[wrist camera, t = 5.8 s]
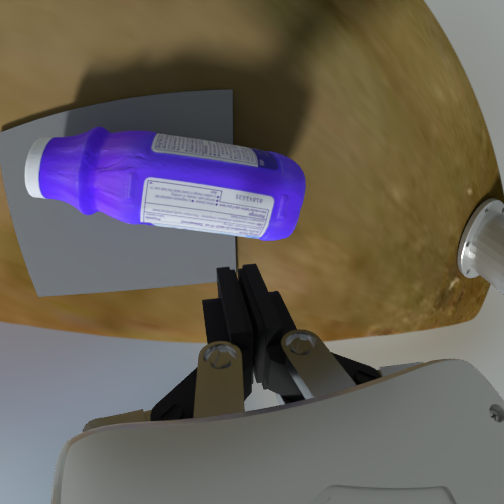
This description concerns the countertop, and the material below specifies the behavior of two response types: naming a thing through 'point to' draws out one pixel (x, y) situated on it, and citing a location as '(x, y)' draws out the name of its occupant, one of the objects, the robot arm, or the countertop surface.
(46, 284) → the mat
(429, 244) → the countertop surface
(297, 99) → the countertop surface
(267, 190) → the bottle
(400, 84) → the countertop surface
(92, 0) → the countertop surface
